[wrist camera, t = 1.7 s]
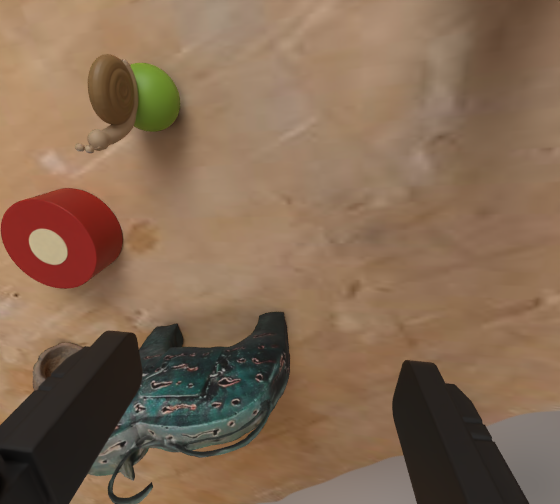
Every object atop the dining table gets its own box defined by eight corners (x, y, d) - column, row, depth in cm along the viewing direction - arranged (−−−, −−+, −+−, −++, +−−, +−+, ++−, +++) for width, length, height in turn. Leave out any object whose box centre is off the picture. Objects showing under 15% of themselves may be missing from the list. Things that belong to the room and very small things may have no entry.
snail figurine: (135, 135, 31) (42, 145, 20) (132, 63, 29) (25, 30, 18) (187, 145, 31) (122, 160, 20) (189, 73, 29) (117, 47, 18)
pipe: (82, 456, 46) (122, 449, 42) (-8, 384, 41) (29, 368, 37) (111, 416, 52) (149, 407, 48) (35, 348, 46) (71, 330, 42)
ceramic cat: (156, 353, 43) (45, 527, 25) (139, 315, 41) (2, 477, 22) (295, 338, 40) (286, 523, 22) (286, 296, 38) (266, 465, 19)
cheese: (29, 184, 34) (-15, 195, 30) (115, 191, 34) (85, 204, 29) (50, 264, 38) (15, 284, 34) (128, 271, 38) (103, 293, 33)
